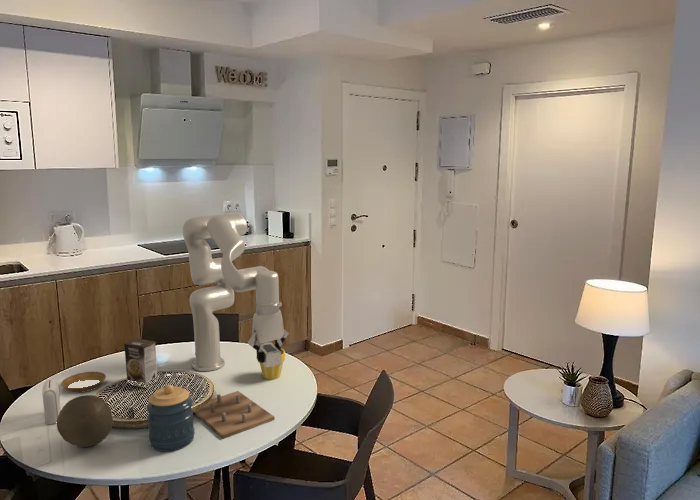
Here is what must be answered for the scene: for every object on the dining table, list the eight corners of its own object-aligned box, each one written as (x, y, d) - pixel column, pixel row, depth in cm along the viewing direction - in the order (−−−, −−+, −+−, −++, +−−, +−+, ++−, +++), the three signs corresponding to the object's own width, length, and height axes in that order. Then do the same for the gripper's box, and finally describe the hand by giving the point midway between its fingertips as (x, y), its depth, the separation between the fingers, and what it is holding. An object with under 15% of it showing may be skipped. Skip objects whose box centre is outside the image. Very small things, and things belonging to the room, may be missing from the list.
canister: (195, 448, 156) (191, 391, 153) (147, 455, 152) (143, 397, 149) (194, 426, 168) (191, 373, 165) (150, 432, 165) (146, 378, 161)
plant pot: (288, 379, 202) (288, 354, 200) (261, 383, 198) (260, 358, 197) (281, 368, 212) (281, 345, 210) (255, 372, 208) (254, 348, 206)
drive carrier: (257, 356, 186) (257, 343, 185) (271, 354, 188) (271, 341, 187) (266, 367, 177) (266, 354, 176) (281, 364, 179) (280, 351, 178)
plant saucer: (51, 392, 192) (51, 385, 192) (83, 375, 206) (82, 369, 206) (85, 397, 188) (84, 390, 188) (115, 380, 202) (114, 374, 201)
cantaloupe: (79, 431, 165) (74, 386, 162) (123, 434, 164) (119, 388, 161) (49, 457, 151) (44, 408, 149) (97, 460, 150) (92, 411, 147)
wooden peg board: (189, 409, 179) (189, 399, 179) (238, 393, 191) (237, 384, 190) (223, 438, 161) (222, 428, 161) (274, 419, 173) (274, 409, 172)
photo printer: (46, 412, 177) (42, 376, 175) (61, 409, 179) (57, 374, 177) (44, 426, 168) (40, 389, 166) (60, 423, 170) (56, 386, 168)
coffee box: (126, 385, 197) (123, 343, 194) (139, 378, 203) (136, 337, 200) (146, 389, 194) (142, 346, 191) (158, 382, 200) (155, 340, 197)
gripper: (283, 300, 187) (284, 349, 191) (239, 310, 176) (240, 362, 180) (295, 305, 182) (296, 356, 185) (250, 316, 171) (252, 369, 174)
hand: (269, 358), depth 182 cm, fingers closed on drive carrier, 5 cm apart
